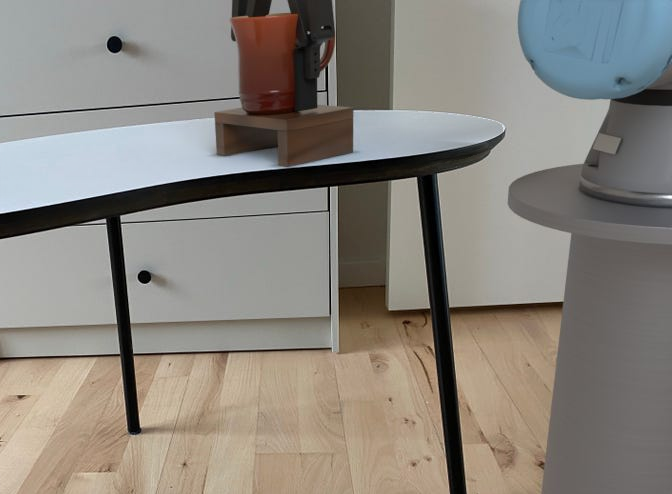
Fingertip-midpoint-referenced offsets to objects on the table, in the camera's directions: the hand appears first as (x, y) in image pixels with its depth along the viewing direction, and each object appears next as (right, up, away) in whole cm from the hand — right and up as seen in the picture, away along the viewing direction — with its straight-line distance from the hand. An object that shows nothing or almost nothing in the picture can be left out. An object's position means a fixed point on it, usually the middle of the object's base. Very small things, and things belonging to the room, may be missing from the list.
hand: (282, 107), depth 96 cm
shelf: (0, -5, +2) cm, 5 cm away
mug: (0, -1, 0) cm, 1 cm away
